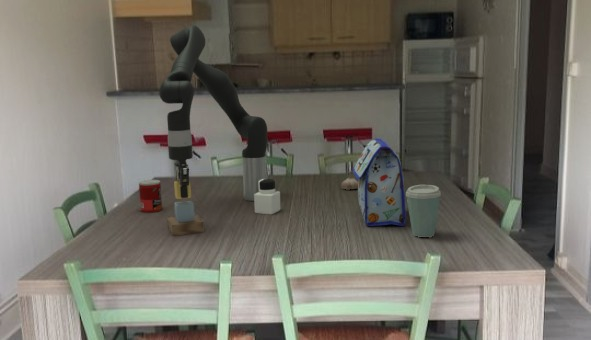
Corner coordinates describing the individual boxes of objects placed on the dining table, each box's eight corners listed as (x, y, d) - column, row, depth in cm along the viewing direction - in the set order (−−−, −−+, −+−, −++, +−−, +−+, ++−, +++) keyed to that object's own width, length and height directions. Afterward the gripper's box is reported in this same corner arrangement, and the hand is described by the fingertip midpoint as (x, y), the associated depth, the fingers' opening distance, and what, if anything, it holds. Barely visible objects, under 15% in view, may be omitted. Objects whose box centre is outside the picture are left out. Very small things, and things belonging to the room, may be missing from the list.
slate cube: (191, 216, 189) (190, 200, 188) (194, 220, 184) (193, 204, 183) (175, 218, 187) (174, 202, 186) (177, 222, 182) (176, 206, 181)
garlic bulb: (362, 188, 243) (362, 170, 241) (354, 191, 237) (354, 173, 235) (346, 186, 247) (346, 168, 245) (338, 190, 241) (338, 171, 239)
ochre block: (188, 195, 187) (187, 180, 186) (191, 197, 183) (190, 182, 182) (175, 196, 185) (174, 181, 184) (177, 199, 181) (176, 183, 180)
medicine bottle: (280, 210, 209) (279, 178, 207) (271, 214, 202) (270, 182, 200) (263, 208, 212) (262, 177, 210) (254, 213, 205) (253, 180, 203)
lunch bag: (351, 210, 205) (351, 137, 201) (397, 209, 205) (398, 136, 200) (358, 228, 183) (357, 146, 178) (409, 227, 183) (410, 145, 178)
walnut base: (197, 224, 192) (197, 214, 192) (203, 232, 183) (203, 221, 182) (167, 227, 189) (167, 217, 188) (172, 235, 179) (171, 225, 179)
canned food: (157, 212, 209) (155, 183, 207) (137, 212, 211) (134, 183, 209) (165, 207, 217) (163, 179, 215) (146, 207, 218) (144, 179, 216)
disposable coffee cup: (433, 242, 166) (434, 192, 164) (399, 237, 172) (399, 189, 169) (445, 233, 175) (446, 185, 173) (411, 228, 181) (412, 182, 178)
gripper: (196, 145, 175) (198, 199, 179) (187, 140, 189) (190, 190, 192) (171, 147, 173) (175, 201, 176) (165, 142, 186) (168, 193, 189)
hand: (183, 195), depth 184 cm, fingers closed on ochre block, 4 cm apart
